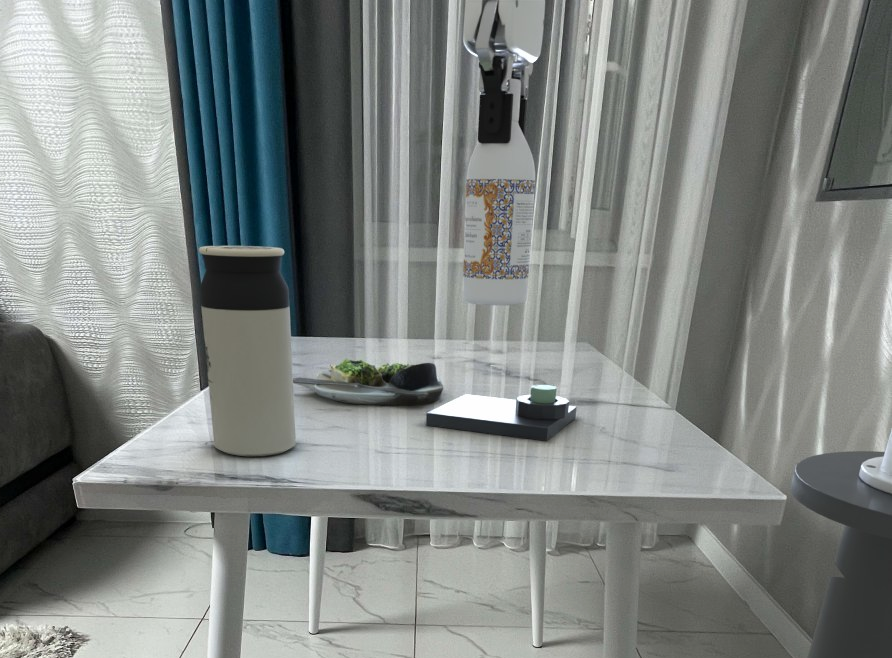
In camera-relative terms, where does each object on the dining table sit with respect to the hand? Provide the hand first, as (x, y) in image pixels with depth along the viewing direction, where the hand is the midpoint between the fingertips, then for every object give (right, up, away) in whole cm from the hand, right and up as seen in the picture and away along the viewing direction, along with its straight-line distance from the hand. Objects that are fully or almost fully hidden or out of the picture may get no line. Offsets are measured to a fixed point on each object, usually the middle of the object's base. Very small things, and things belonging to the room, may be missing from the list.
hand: (501, 142), depth 80 cm
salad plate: (-13, -18, +25) cm, 34 cm away
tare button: (+6, -23, +10) cm, 26 cm away
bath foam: (0, -13, +7) cm, 15 cm away
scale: (+1, -24, +13) cm, 28 cm away
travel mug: (-24, -30, +1) cm, 39 cm away
